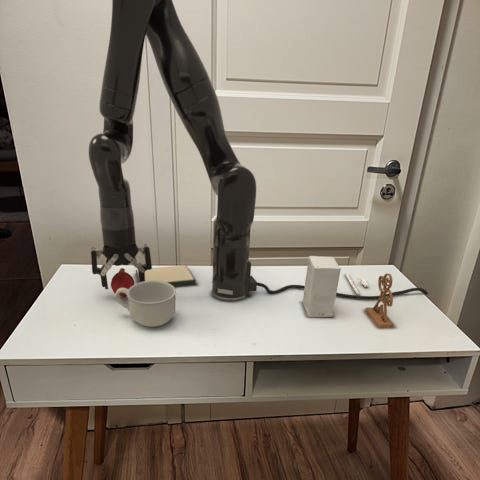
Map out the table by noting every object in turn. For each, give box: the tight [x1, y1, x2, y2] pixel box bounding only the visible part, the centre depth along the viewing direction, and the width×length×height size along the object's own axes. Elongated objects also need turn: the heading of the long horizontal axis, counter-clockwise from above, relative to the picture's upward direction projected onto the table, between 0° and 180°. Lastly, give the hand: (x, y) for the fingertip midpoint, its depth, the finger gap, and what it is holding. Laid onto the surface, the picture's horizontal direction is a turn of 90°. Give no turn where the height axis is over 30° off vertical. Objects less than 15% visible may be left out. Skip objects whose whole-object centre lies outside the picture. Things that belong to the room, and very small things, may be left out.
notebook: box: [135, 264, 197, 288], centre depth 121 cm, size 15×11×2 cm
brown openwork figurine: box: [364, 273, 395, 329], centre depth 104 cm, size 9×4×12 cm, turn 7°
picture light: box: [345, 273, 369, 296], centre depth 124 cm, size 14×4×2 cm, turn 1°
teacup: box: [114, 280, 177, 328], centre depth 99 cm, size 14×11×8 cm
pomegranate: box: [110, 267, 136, 299], centre depth 108 cm, size 6×6×8 cm
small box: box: [302, 255, 342, 318], centre depth 106 cm, size 8×6×13 cm
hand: (124, 286), depth 109 cm, fingers open, 8 cm apart
